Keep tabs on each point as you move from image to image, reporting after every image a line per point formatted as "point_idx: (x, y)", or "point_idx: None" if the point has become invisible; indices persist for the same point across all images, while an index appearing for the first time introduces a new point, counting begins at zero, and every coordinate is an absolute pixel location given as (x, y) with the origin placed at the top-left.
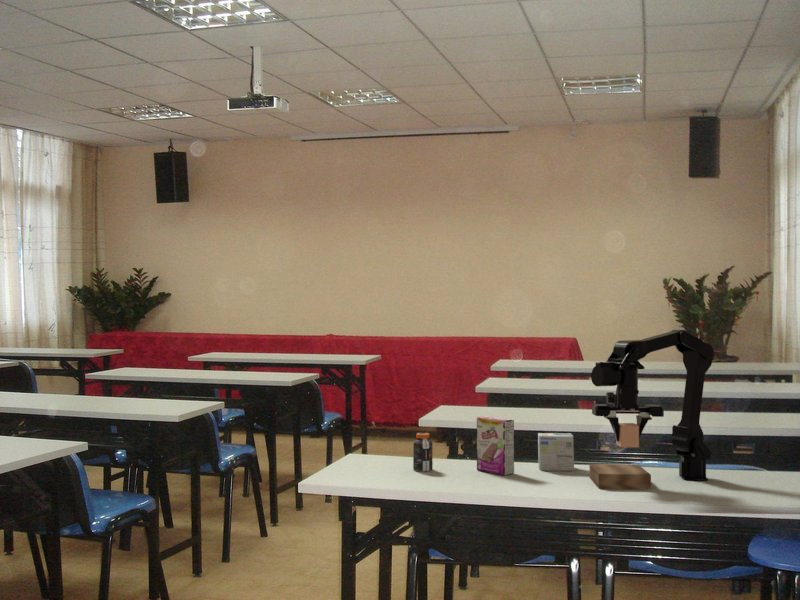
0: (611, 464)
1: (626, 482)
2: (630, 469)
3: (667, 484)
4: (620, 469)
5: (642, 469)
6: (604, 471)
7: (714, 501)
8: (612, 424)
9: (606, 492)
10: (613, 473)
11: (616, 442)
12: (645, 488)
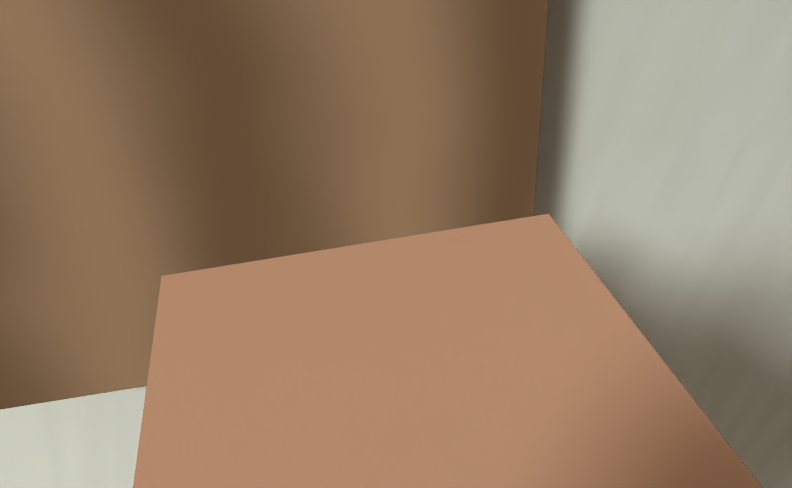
0: None
1: None
2: (370, 104)
3: (700, 21)
4: (239, 127)
5: (519, 83)
6: (33, 278)
7: (752, 455)
8: None
9: (101, 411)
10: (147, 356)
11: (159, 306)
12: None
